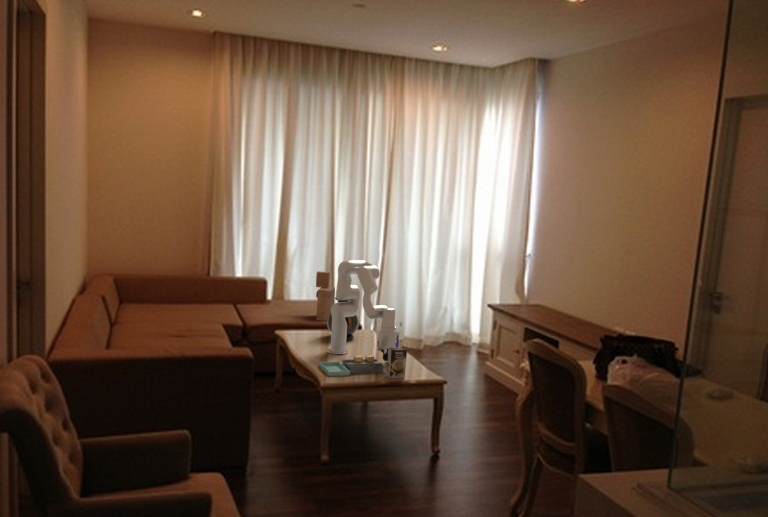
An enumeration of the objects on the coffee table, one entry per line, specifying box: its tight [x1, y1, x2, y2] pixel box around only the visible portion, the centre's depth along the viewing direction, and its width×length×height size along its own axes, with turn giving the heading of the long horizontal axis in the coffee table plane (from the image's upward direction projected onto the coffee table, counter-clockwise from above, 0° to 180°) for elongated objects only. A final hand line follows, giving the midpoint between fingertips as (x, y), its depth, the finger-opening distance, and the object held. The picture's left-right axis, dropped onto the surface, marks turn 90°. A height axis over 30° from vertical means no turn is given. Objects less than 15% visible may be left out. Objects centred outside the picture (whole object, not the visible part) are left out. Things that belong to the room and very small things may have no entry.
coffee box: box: [386, 347, 408, 379], centre depth 377 cm, size 9×6×16 cm
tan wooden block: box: [364, 354, 375, 363], centre depth 389 cm, size 4×4×4 cm
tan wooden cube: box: [353, 354, 364, 363], centre depth 386 cm, size 4×4×4 cm
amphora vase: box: [326, 296, 360, 341], centre depth 463 cm, size 22×22×28 cm
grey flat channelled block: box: [341, 358, 384, 375], centre depth 387 cm, size 14×20×5 cm
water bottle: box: [385, 322, 403, 363], centre depth 408 cm, size 8×9×25 cm
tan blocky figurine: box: [315, 271, 336, 322], centre depth 526 cm, size 19×14×35 cm
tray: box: [318, 361, 351, 377], centre depth 381 cm, size 20×12×2 cm, turn 21°
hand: (385, 360), depth 392 cm, fingers closed
